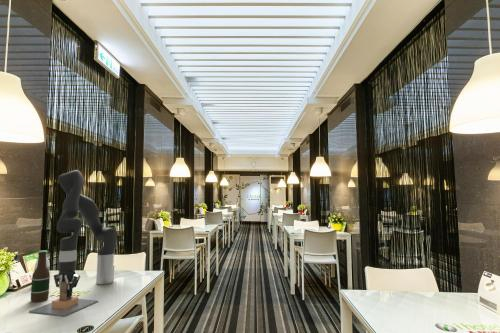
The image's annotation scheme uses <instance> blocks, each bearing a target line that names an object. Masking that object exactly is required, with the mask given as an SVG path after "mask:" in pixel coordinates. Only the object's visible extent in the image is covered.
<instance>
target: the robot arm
mask: <svg viewBox="0 0 500 333" xmlns="http://www.w3.org/2000/svg"><path fill="white" fill-rule="evenodd" d="M57 180H58V183H59V186H60V187H61V189H62V190H63V191H64V192H65V193H66V195H67V196H66V197H65V199H64V200H63V203H62V212H61V215H60V217H59V219H58V221H57V225H56V231H58V233H61V234H64V233H65V234H66V233H72V235H70V236H66V237H63V238H61V239H60V243H59V254H58V266H57V270H58V273H57V274H54V275H53V280H54V283H55V287H56V288H59V290H60V281H66V282H67V289H68V290H67V297H68V298H69V297H71V296H72V297H73V290H74V288H77V286H78V283H79V280H80V278H81V275H80V274H79V275H78V274H76V271H75V270H76V269H77V257H78V253H77V252H78V250H77V249H78V247H77V244H78V238H79V234H80V232H81V229H82V226H83V221H82V219H81V218H80V217H77V216H78V215H79V213H80V215H81V216H82V217H83V219H84V220H85V222H86V224H87V225H88V226H89V228H90V230H91V232H92V234H93V237H94V239H95V240H96V241H97V242H99V243H103V246H102V247H101V248H99V249H98V250H97V256H96V257H97V259H96V260H97V261H96V281H95V283H96V285H109V284H111V283H113V282H114V281H115V280H114V279H115V265H114V263H115V262H114V261H115V260H114V257H115V250H116V248H117V246H116V245H117V231H116V229H115V228H114V227H106V226H104V225H103V224H102V222H101V221H100V209H99V208H98V206H97V204H96V203H95V201H94V200H93V199H92V198H90V197H88V196H87V195H84V194H82V191H83V187H84V181H85V180H84V176H83V174H82V173H81V171H80V170H77V169H75V170H71V171H67V172H66V173H65V172H64V173H62V174H60V175H58V177H57ZM71 280H72V281H71ZM69 281H71V282H69ZM70 284H71V286H70Z"/></svg>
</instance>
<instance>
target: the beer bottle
mask: <svg viewBox="0 0 500 333" xmlns="http://www.w3.org/2000/svg"><path fill="white" fill-rule="evenodd" d="M41 251H42V252H39V251H38V254H37V255H38V257H39V258H37V260H38V265H37V268H36V270H35V271H34V270H33V272H32V275H31V276H32V277H31V286H30V287H31V289H30V301H31V303H41V302H45V301H47V300H49V294H50V281H51V274H50V270H48V269H47V267H46V254H47V255H48V253H47V252H46V251H43V250H41Z"/></svg>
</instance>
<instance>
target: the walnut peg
mask: <svg viewBox="0 0 500 333" xmlns="http://www.w3.org/2000/svg"><path fill="white" fill-rule="evenodd" d="M71 281H72V280H71ZM71 281H69V282H71ZM70 286H71V284H70ZM67 290H68V289H67V282H66V281H60V289H59V298H58V299H59V300H60V301H67V300H69V299H71V297H73V295H72V296H71V297H69V298H68V297H67Z"/></svg>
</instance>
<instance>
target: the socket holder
mask: <svg viewBox="0 0 500 333" xmlns="http://www.w3.org/2000/svg"><path fill="white" fill-rule="evenodd" d="M97 303H99V300H93V299H87V298H85V299H83V298H79V296H72V297H71V299H69V300H67V301H60V300H59V298H56V299H53V300H52V301H51V302H50V303H47V304H44V305H41V306H39V307H35V308H34V309H31V310H29V311H28V313H31V314H38V315H39V314H40V315H49V316H55V315H56V316H57V317H64V316H65V317H67V316H70V315H71V314H74V313H76V312H78V311H80V310H83V309H86V308H88V307H89V306H91V305H92V306H93V305H94V304H97Z"/></svg>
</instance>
